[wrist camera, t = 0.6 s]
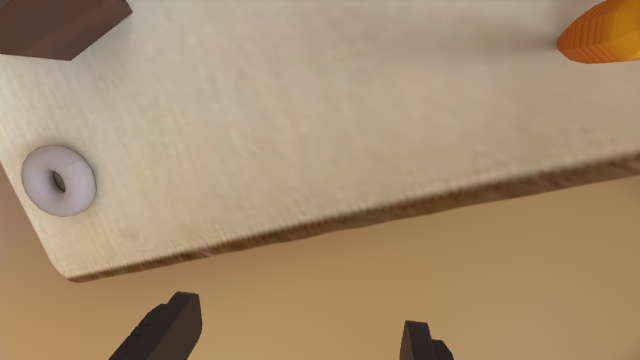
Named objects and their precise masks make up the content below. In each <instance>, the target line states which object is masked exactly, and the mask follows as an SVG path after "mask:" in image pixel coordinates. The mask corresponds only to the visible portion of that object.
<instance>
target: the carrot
mask: <svg viewBox="0 0 640 360" xmlns="http://www.w3.org/2000/svg"><path fill="white" fill-rule="evenodd" d="M557 48H558V50H559V51H560V52H561V53H562V54H563V55H564V56H566V57H567V58H568V59H570V60H572V61H576V62H581V63H587V64H592V63H610V62H622V61H633V60H640V0H606V1H604V2H602V3H600V4H598V5H596V6H594V7H593V8H591V9H590V10H588V11H587V12H585V13H584V14H583V15H581V16H580V17H579V18H577V19H576V20H575V21H574V22H573V23H572V24H571V25H570V26H569V27H568V28H567V29H566V30H565V31H564V32H563V33H562V34H561V35H560V36H559V38H558V47H557Z"/></svg>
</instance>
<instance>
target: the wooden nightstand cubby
mask: <svg viewBox="0 0 640 360" xmlns="http://www.w3.org/2000/svg"><path fill="white" fill-rule="evenodd" d="M131 13H132V10H131V8H130V7H129V5H128V3H127V2H126V0H0V54H5V55H15V56H25V57H36V58H46V59H56V60H66V61H71V60H72V59H73V58H75V57H76V56H77V55H79V54H80V53H81V52H82V51H84V50H85V49H86V48H88V47H89V46H90V45H91V44H93V43H94V42H95V41H97V40H98V39H99V38H100V37H102V36H103V35H104V34H106V33H107V32H108V31H109V30H111V29H112V28H113V27H115V26H116V25H117V24H118V23H120V22H121V21H122V20H123V19H125V18H126V17H127V16H129V15H130V14H131Z"/></svg>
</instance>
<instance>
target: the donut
mask: <svg viewBox="0 0 640 360" xmlns="http://www.w3.org/2000/svg"><path fill="white" fill-rule="evenodd" d="M54 171H56V172H57V173H58V174H59V175H60V176H61V178H62V179H63V181H64V184H65V192H63V191H61V190H60V189H59V188H58V186H57V185H56V183H55V180H54V175H53V173H54ZM21 179H22V184H23V187H24V189H25V192H26V194H27V195H28V197H29V198H30V199H31V201H32V202H33V203H34V204H35V205H36V206H37V207H38V208H40V209H41V210H43V211H45V212H47V213H49V214H51V215H55V216H59V217H68V216H75V215H78V214H79V213H81V212H83V211H85V210H86V209H87V208H88V207H89V206H90V204H91V203H92V202H93V200H94V197H95V193H96V182H95V178H94V175H93V172H92V170H91V168H90V167H89V165H88V164H87V162H86V161H85V160H84V159H83V158H82V157H81V156H80V155H79V154H78V153H76V152H74V151H72V150H70V149H69V148H66V147H62V146H57V145H48V146H42V147H39V148H37V149H35V150H34V151H32V152H31V153H29V154H28V155H27V157H26V159H25V160H24V162H23V165H22V170H21Z"/></svg>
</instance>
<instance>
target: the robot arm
mask: <svg viewBox="0 0 640 360" xmlns="http://www.w3.org/2000/svg"><path fill="white" fill-rule="evenodd" d="M201 330H202V318H201V309H200V300H199V295H198V294H195V293H188V292H180V291H179V292H176V293H175V294H174V295H173V297H172V298H171V299H170V300H169V302H168V303H167V304H160V305H159V306H157V307H156V308H154V309H153V310H151V311H150V312H148V314H147V315H146V316H145V317H144V318H143V319H142V321H141V322H140V323H139V325H138V326H137V327H136V328H135V329H134V330H133V331H132V332H131V335H130V336H128V337H127V338H126V339H125V341H124V342H123V343H122V344H121V345H120V347H119V348H118V349H117V350H116V351H115V352H114V354H113V355H112V356H111V357H110V358H109V360H187V358H188V357H189V355H190V353H191V352H192V350H193V348H194V347H195V345H196V343H197V341H198V339H199V337H200V334H201ZM400 360H454V359H453V355H452V353H451V352H450V350H449V349H448V348H447V346H446V345H445V344H444V342H443V341H442V340H434V339H431V336H430V331H429V327H428V324H427V323H423V322H416V321H405V325H404V331H403V337H402V343H401V349H400Z"/></svg>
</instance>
